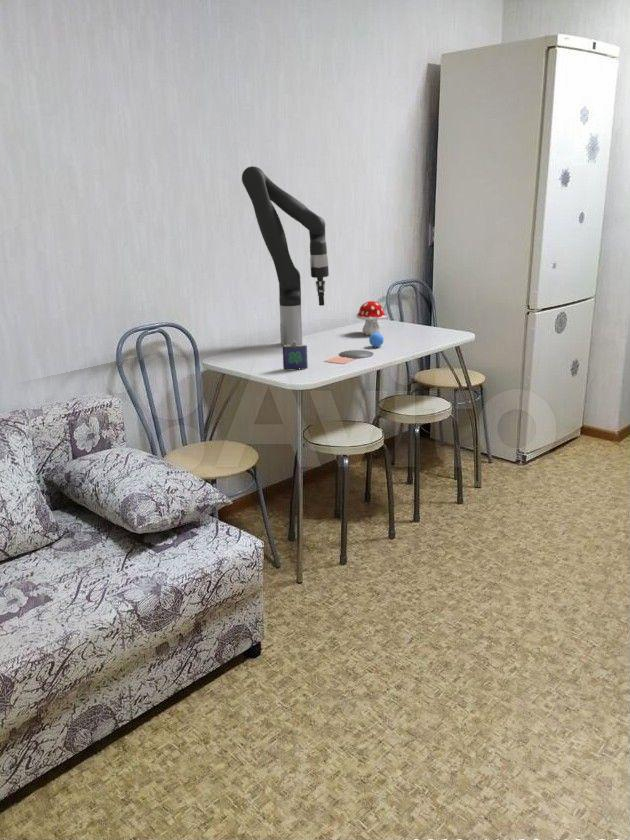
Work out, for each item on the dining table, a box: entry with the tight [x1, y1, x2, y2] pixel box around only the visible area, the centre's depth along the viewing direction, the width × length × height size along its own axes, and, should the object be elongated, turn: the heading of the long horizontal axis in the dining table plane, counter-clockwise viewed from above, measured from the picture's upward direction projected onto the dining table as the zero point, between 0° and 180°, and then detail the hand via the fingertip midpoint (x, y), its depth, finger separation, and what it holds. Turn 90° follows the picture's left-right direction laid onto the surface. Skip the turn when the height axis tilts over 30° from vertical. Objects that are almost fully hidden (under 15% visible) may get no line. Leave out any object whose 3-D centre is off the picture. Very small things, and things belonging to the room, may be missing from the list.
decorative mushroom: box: [355, 300, 387, 336], centre depth 324 cm, size 14×14×15 cm
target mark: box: [338, 349, 374, 359], centre depth 288 cm, size 14×14×1 cm
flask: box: [282, 341, 309, 370], centre depth 266 cm, size 9×3×11 cm, turn 95°
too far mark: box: [324, 356, 356, 365], centre depth 278 cm, size 9×9×1 cm
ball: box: [368, 332, 385, 348], centre depth 299 cm, size 6×6×6 cm
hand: (321, 303), depth 304 cm, fingers open, 8 cm apart
